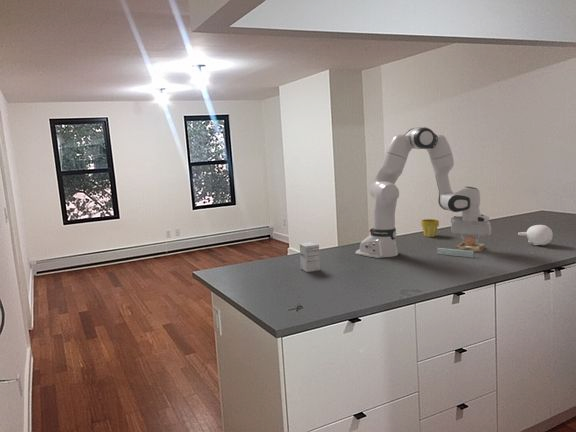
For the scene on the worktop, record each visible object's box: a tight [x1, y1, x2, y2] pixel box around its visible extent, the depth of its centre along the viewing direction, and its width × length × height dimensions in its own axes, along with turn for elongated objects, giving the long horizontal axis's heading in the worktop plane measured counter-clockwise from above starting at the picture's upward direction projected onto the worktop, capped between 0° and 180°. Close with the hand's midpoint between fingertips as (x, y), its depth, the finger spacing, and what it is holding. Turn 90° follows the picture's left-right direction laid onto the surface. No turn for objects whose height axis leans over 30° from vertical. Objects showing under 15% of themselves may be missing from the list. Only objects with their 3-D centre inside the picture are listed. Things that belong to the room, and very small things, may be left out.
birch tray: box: [455, 241, 486, 254], centre depth 257 cm, size 12×12×2 cm
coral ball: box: [465, 235, 476, 246], centre depth 256 cm, size 5×5×5 cm
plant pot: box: [420, 218, 440, 238], centre depth 294 cm, size 10×10×10 cm
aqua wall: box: [436, 247, 475, 259], centre depth 245 cm, size 18×1×3 cm, turn 54°
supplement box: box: [299, 241, 321, 273], centre depth 230 cm, size 7×7×13 cm
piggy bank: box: [517, 224, 554, 246], centre depth 259 cm, size 12×12×15 cm
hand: (470, 242), depth 256 cm, fingers closed on coral ball, 5 cm apart
